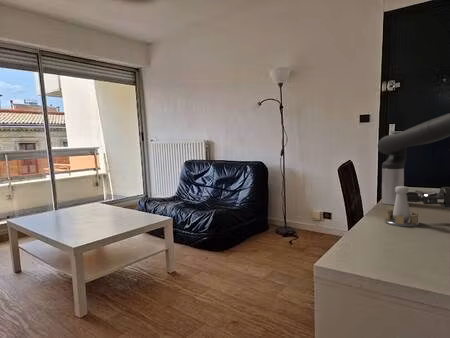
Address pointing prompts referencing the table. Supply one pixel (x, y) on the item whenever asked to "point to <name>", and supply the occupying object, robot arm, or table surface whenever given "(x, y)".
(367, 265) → the table surface
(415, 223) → the disc with wooden blocks
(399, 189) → the salt shaker
